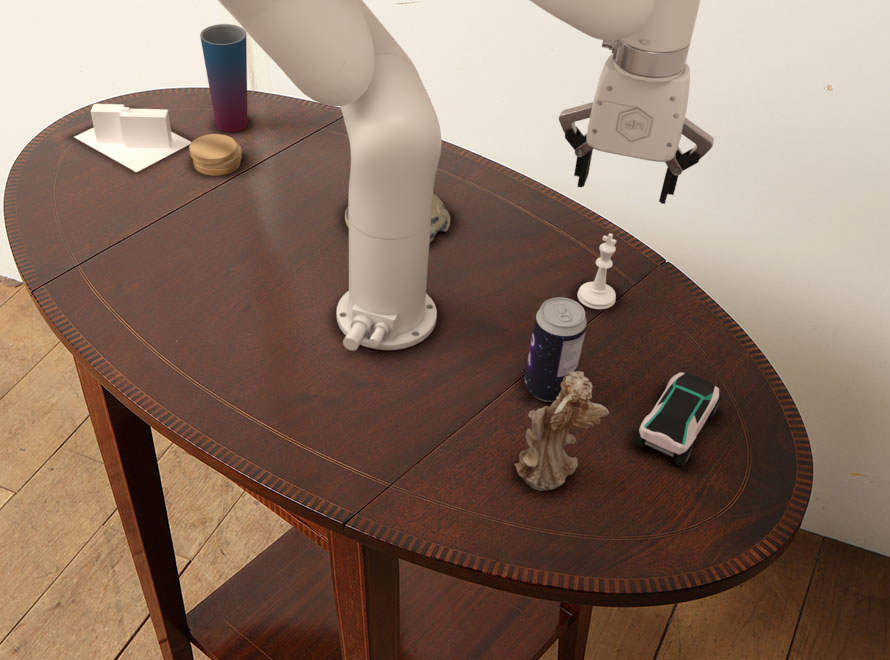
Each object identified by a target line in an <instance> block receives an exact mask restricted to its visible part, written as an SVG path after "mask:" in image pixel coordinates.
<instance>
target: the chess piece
mask: <svg viewBox="0 0 890 660" xmlns="http://www.w3.org/2000/svg"><path fill="white" fill-rule="evenodd" d="M613 236H614V234H613V233H610V232H609V233H608V235H603V236H602V239H601V240H602V241H604V242H603V243H601V244H600V245H599V247H598V249H599V253H600V255H599V256H600V257H598V258H597V259H596V260H595V265H596V266H597V267H598V269H597V272H596V275H595V277H594V280H593V281H587V282H585V283H583V284H581V286H580V287H579V288H578V291H577V299H578V301H579V302H580V303H581V305H584V306H586V307H587V308H590V309H593V310H594V309H595V310H605V309H609V308H610V307H612V306H614V305H615V303H616V299H617V298H616V297H617V296H616V295H617V293H616V291H615V289H614V288H613V287H612V286H611V285H609V284H607V274H608V273H607V271H608V269H610V268H612V267H613V263H614V262H613V261H612V259H611V258H612V256H613V255H614V254H615V252H616V249H617V247H616V246H615V245H616V244H617V239H614V238H613Z"/></svg>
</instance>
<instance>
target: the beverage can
mask: <svg viewBox="0 0 890 660" xmlns="http://www.w3.org/2000/svg"><path fill="white" fill-rule="evenodd" d="M587 327H588V321H587V318H586V310H585V309H584V307H583V306H582V304H580V303H579V302H577V301H575V300H574V299H571V298H567V297H561V296H560V297H552V298H550V299H547V300H545V301H544V302H543V303H542V304H541V305H540V308H539V309H538V310H537V312H536V313H535V316H534V321H533V328H532V333H531V334H532V335H531V338H530V339H531V340H530V345H529V351H528V356H527V362H526V369H525V374H524V381H523V383H524V384H523V385H524V387H525V388H526V390H527V392H528V393H529V394H531V395H532V396H533V397H534V398H535V399H538V400H540V401H542V402H547V403H553V402H554V401H555V400H556V397H558V396H559V393H560V392H561V390H562V388H561V383H562V381H563V379H564V377H565V376H568V375H569V374H568V373H569V372H570V371H574V372H576V371H578V367H579V363H580V358H581V355H582V349H583V345H584V341H585V336H586V331H587Z"/></svg>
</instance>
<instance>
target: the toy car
mask: <svg viewBox="0 0 890 660" xmlns="http://www.w3.org/2000/svg"><path fill="white" fill-rule="evenodd" d="M721 400H722V396H721V395H720V388H719V387H718V386H716V385H715V383H713V382H711V381H709V380H708V379H705V378H702V377H700V376H698V375H695V374H693V373H690V372H678V373H676V374H675V375H673V376H672V377H670V379H669V381H668V383H667V384H666V387H665V389H664V391H663V392H662V394H661V396H660V397H659V399H658V400H657V402H656V404H655V405H654V406H653V408H652V410H651V411H650V413H649V414H648V415H646V416H645V417H644V418H643V420H642V422H641V424H640V426H639V427H638V430H637V432H636V433H635V435H634V439H633V445H634V446H635V447H637V448H643V447H644V446H648V447H650V448H652V449H655V450H656V451H659V452H661V453H663V454H665V455H667V456H670V457H672V458H674V456H675V454H676V457H675V461H674V464H675V465H677V466H680V467H684V466H685V465H686V464H687V462H688V460H689V459H690V456H691V453H692V452H693V450H694V441H695V440H696V439H697V436H698V434H699V433H700V432H701V430H702V428H703V427H704V425H705V424H706V421H707V420H708V418H709V419H712V418H714V416H715V414H716V412H717V410H718V408H719V406H720V403H721Z"/></svg>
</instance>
